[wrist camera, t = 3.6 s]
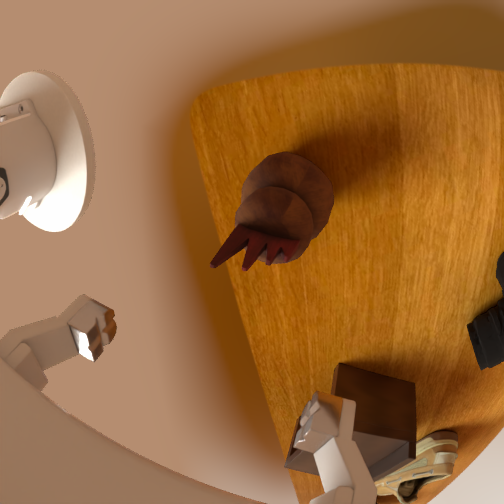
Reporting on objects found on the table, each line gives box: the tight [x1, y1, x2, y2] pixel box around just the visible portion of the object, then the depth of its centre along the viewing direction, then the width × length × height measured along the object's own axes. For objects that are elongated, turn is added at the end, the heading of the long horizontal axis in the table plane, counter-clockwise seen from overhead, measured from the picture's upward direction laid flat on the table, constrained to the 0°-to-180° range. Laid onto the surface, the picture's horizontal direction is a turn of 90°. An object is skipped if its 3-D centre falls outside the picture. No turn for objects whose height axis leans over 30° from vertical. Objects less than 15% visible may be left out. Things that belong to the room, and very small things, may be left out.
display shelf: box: [284, 363, 417, 482], centre depth 37 cm, size 12×18×12 cm, turn 168°
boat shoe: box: [374, 431, 458, 504], centre depth 44 cm, size 10×29×11 cm, turn 174°
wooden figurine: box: [210, 152, 334, 271], centre depth 21 cm, size 7×6×15 cm
